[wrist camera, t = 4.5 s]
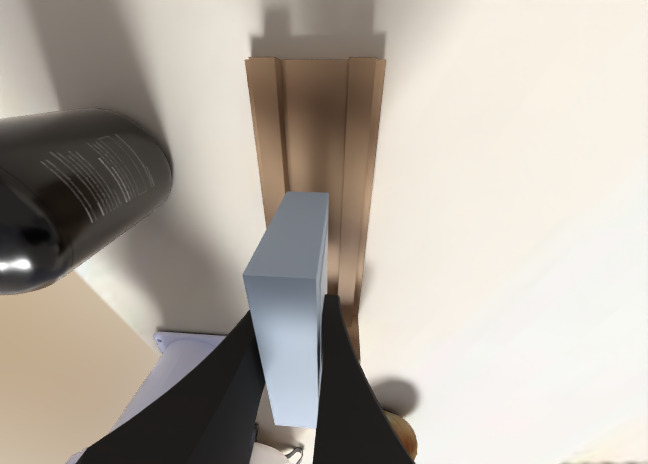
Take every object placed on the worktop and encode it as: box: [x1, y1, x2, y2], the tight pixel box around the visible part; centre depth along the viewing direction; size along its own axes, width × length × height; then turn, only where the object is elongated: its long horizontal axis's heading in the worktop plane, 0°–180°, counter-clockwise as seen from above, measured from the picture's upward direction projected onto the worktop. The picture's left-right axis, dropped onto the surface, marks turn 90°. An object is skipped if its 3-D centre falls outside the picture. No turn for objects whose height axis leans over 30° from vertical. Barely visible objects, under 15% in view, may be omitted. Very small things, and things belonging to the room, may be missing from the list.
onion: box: [384, 411, 417, 461], centre depth 28 cm, size 8×8×8 cm
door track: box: [245, 57, 386, 363], centre depth 16 cm, size 20×7×5 cm, turn 0°
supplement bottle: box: [0, 108, 172, 295], centre depth 12 cm, size 7×7×12 cm
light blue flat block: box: [243, 191, 329, 429], centre depth 12 cm, size 9×2×6 cm, turn 0°
